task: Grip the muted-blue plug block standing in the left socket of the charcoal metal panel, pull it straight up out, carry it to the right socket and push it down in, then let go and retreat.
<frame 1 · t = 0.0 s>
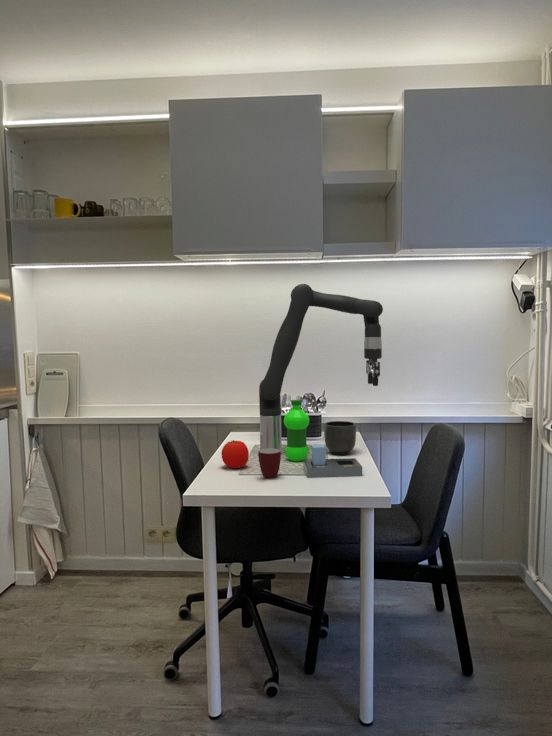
hand: (372, 384, 217), 29 cm above the table, fingers open, 8 cm apart
mug: (270, 477, 181), on the table
planter: (340, 453, 216), on the table
panel: (332, 473, 185), on the table
plastic bottle: (297, 461, 204), on the table
plug: (318, 472, 184), resting on panel
tomato: (235, 467, 196), on the table
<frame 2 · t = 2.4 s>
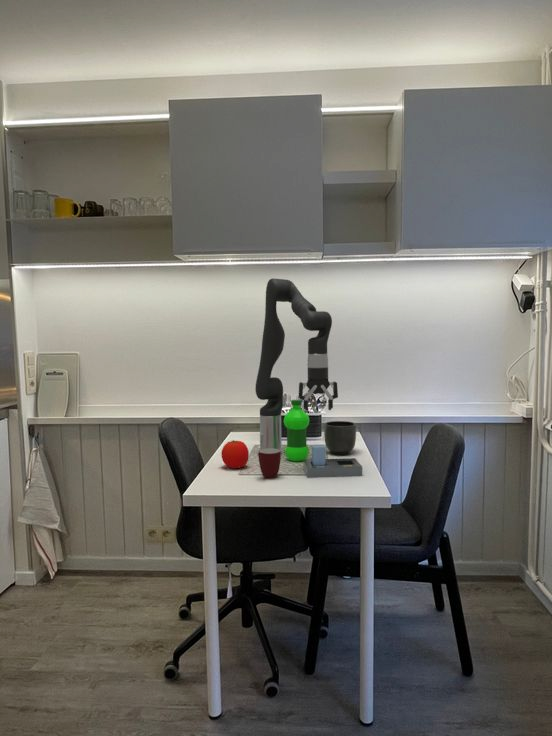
hand: (318, 410, 183), 24 cm above the table, fingers open, 8 cm apart
nothing on the table moved.
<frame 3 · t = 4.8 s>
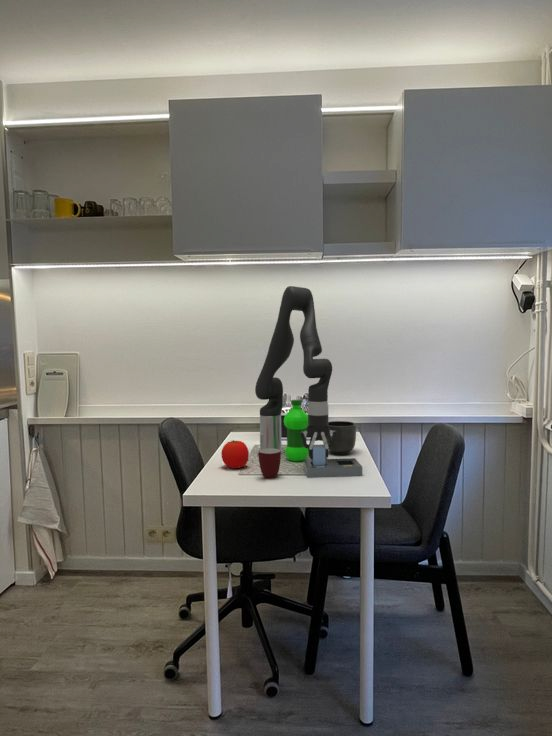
hand: (318, 458, 184), 6 cm above the table, fingers closed on plug, 4 cm apart
plug: (318, 472, 184), point 1 cm above the table, touching gripper, panel
everything else where it was.
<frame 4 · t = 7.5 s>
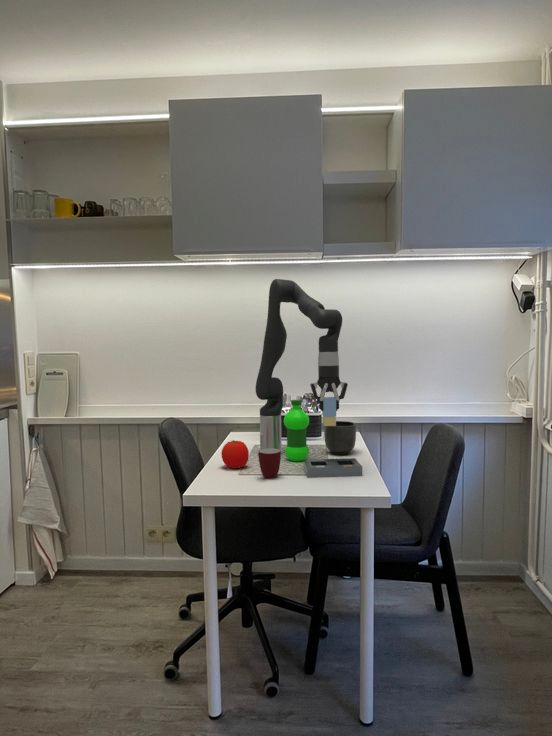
hand: (329, 410, 183), 24 cm above the table, fingers closed on plug, 4 cm apart
plug: (329, 424, 183), point 18 cm above the table, touching gripper
everything else where it was.
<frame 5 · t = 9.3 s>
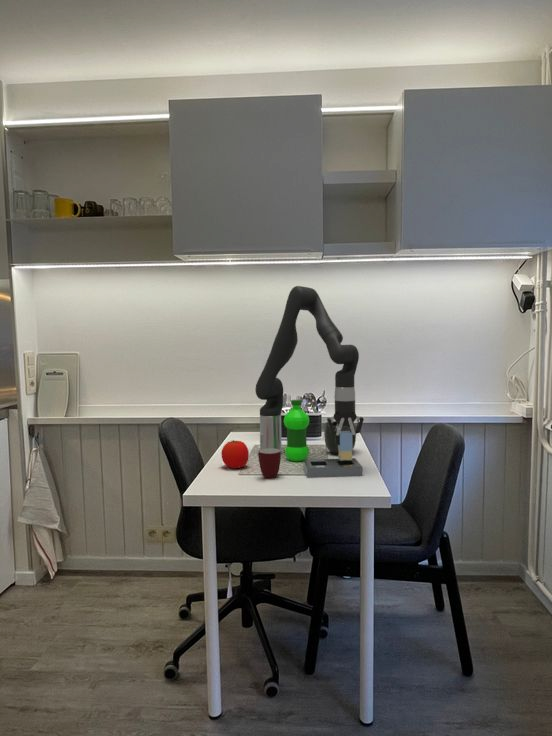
hand: (345, 444, 184), 11 cm above the table, fingers closed on plug, 4 cm apart
plug: (345, 458, 185), point 5 cm above the table, touching gripper
everything else where it was.
when the fingers open (7 cm above the table, at t = 10.5 s): plug stays where it is, resting on panel.
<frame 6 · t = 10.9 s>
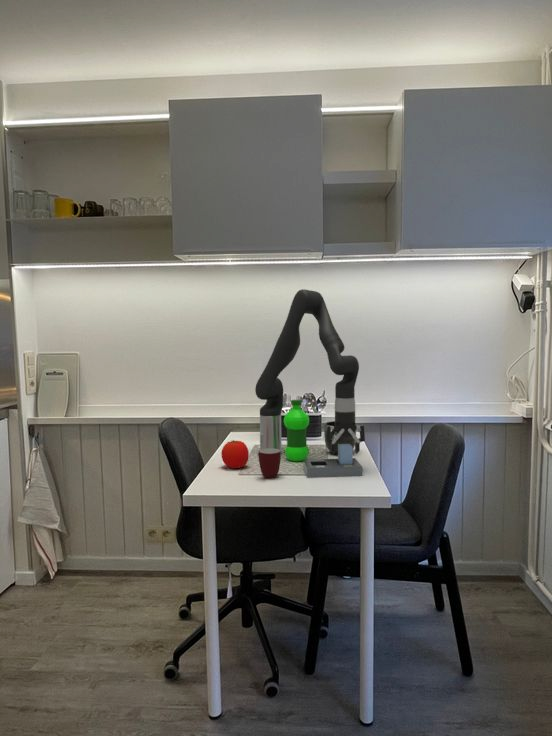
hand: (345, 453, 185), 8 cm above the table, fingers open, 8 cm apart
plug: (345, 471, 185), resting on panel
everything else where it was.
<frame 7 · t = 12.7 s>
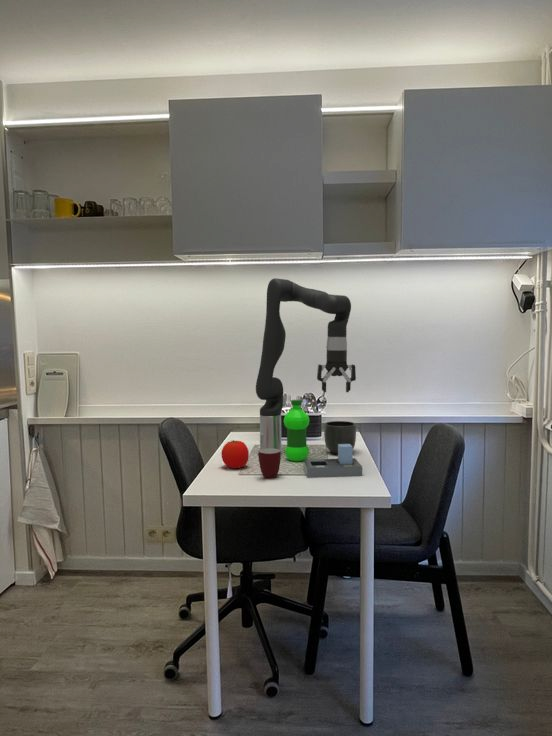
hand: (336, 392, 187), 30 cm above the table, fingers open, 8 cm apart
nothing on the table moved.
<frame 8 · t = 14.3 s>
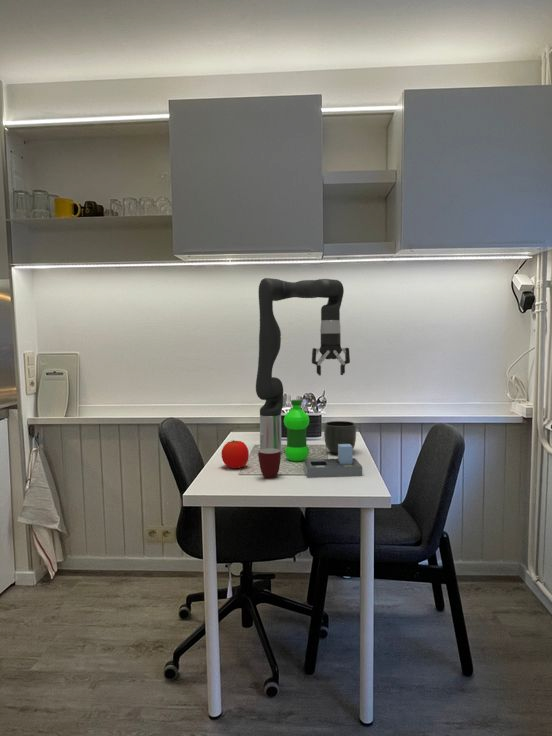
hand: (330, 375, 189), 36 cm above the table, fingers open, 8 cm apart
nothing on the table moved.
at the end: plug 0.0 cm from the target spot on the panel, point 0.5 cm above the panel's base; plug tilted 0°; the gripper is holding nothing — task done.
